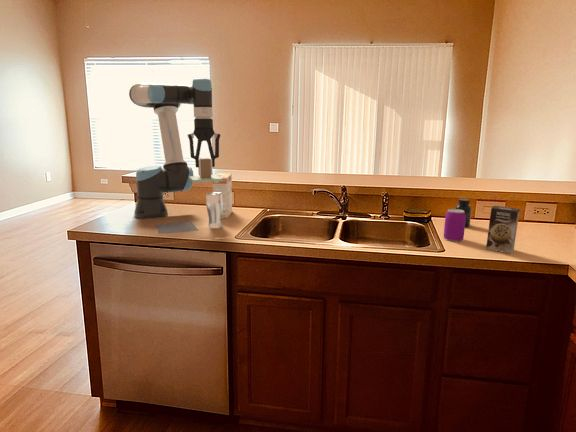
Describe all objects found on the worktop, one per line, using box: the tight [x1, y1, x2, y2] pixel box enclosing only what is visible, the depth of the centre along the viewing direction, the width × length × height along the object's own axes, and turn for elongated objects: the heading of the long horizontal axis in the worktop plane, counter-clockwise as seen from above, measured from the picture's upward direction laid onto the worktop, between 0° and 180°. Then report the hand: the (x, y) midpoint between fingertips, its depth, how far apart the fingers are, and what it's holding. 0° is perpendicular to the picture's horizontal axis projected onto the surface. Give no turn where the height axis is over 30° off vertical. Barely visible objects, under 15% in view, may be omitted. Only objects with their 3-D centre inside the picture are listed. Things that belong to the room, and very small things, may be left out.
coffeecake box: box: [212, 172, 233, 219], centre depth 213 cm, size 15×7×20 cm, turn 178°
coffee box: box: [485, 205, 521, 254], centre depth 163 cm, size 9×6×16 cm
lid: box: [189, 157, 223, 183], centre depth 184 cm, size 12×12×9 cm
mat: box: [155, 221, 199, 235], centre depth 189 cm, size 16×16×1 cm
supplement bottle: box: [454, 198, 472, 228], centre depth 199 cm, size 7×7×12 cm
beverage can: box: [443, 208, 466, 242], centre depth 177 cm, size 8×8×12 cm
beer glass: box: [205, 191, 223, 229], centre depth 189 cm, size 7×7×15 cm
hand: (205, 174), depth 184 cm, fingers closed on lid, 4 cm apart
